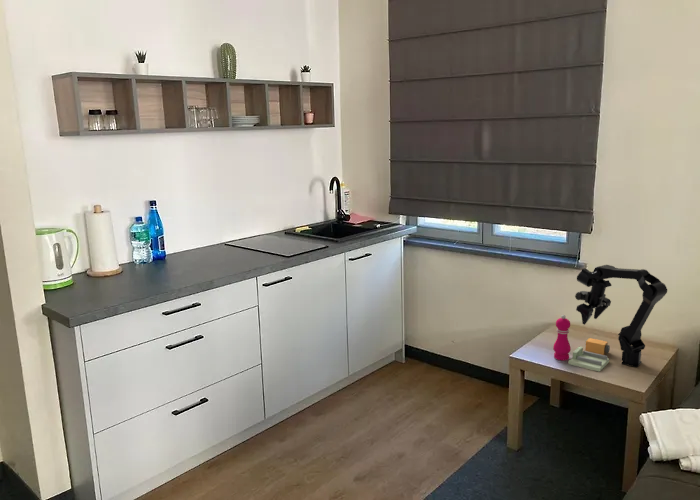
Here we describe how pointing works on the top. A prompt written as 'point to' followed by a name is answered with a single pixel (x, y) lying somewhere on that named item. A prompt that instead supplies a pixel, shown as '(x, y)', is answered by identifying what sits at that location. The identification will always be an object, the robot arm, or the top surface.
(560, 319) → the pepper mill
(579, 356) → the pale green tray
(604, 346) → the orange tapered block
